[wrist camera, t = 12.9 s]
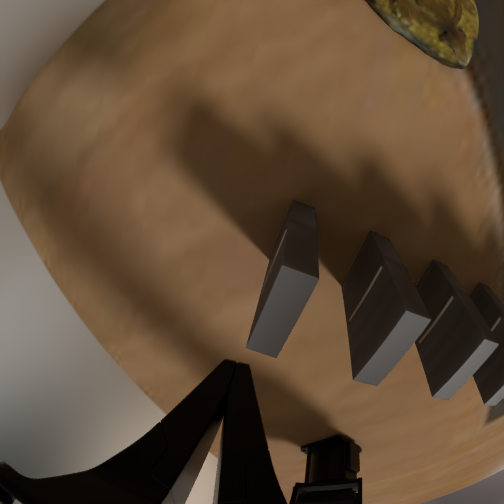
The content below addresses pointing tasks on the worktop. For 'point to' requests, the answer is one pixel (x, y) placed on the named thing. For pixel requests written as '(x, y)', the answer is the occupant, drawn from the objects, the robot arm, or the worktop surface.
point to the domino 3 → (451, 333)
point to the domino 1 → (286, 281)
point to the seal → (434, 26)
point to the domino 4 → (500, 361)
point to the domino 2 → (380, 310)
